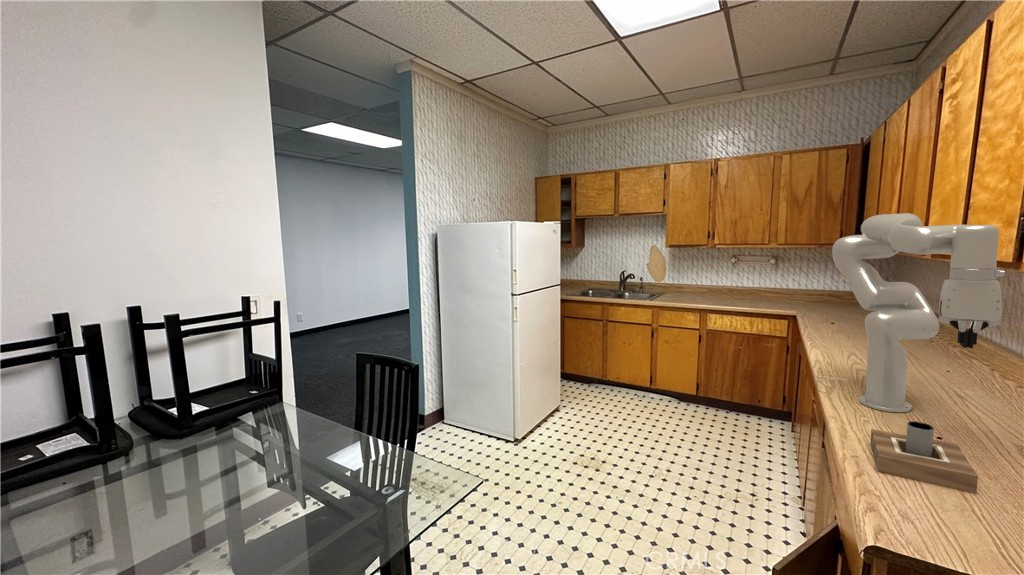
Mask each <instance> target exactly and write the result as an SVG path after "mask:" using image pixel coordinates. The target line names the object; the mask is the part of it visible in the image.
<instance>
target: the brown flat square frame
mask: <svg viewBox="0 0 1024 575" xmlns="http://www.w3.org/2000/svg"><path fill="white" fill-rule="evenodd" d="M906 436H907V434H903V433H897V432H891V431H885V430H879V429H874V428H871V429H870V446H871V450H872V454H873V458H874V462H875V466H876V470H877V472H879V473H884V474H888V475H891V476H897V477H902V478H905V479H910V480H915V481H918V482H922V483H929V484H933V485H937V486H941V487H946V488H950V489H955V490H960V491H964V492H969V493H974V494H977V490H978V480H979V478H978V474H977V472H976V471H975V469H974V468H973V467H972V464H971V463H970V461H969V460H968V459H967V457H966V455H965V453H964V452H963V450H962V449H961V447H960V446H959V444H957V443H955V442H954V443H953V442H949V441H948V442H947V441H942V440H936V439H933V448H932V458H929V457H924V456H919V455H914V454H909V453H905V451H906Z"/></svg>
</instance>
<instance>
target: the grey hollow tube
mask: <svg viewBox="0 0 1024 575" xmlns="http://www.w3.org/2000/svg"><path fill="white" fill-rule="evenodd" d="M934 430H935V428H934V427H933V425H930V424H928V423H925V422H920V421H915V420H913V421H912V420H911V421H908V422H907V423H906V435H907V436H906V451H905V453H909V454H914V455H919V456H924V457H929V458H932V448H933V440H934V432H935V431H934Z"/></svg>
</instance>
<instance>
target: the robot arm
mask: <svg viewBox="0 0 1024 575" xmlns="http://www.w3.org/2000/svg"><path fill="white" fill-rule="evenodd" d="M860 232H861V234H855V235H854V234H853V235H847V236H843V237H840V238H838V239H837V240H835V242H834V243H833V245H832V249H831V250H832V251H831V253H832V260H833V263H834V264H835V266H836V268H837V269H838V270H839V272H840V273H841V274H842V276H843V277H844V278H845V279H846V280H847V283H848V285H849V287H850V289H851V290H852V293H853V295H854V296H855V299H856V300H857V302H858V303H859V305H860V307H862V309H863V310H865V311H866V310H867V311H871V312H870V313H868V314H867V315H866V316H865V318H864V329H865V335H866V339H867V340H866V341H867V342H866V343H867V346H866V348H867V354H866V355H867V356H866V374H865V376H866V377H865V393H864V394H862V395H860V396H859V397H858V401H859V402H860V403H861V404H862V405H863V406H866V407H869V408H871V409H875V410H878V411H883V412H889V413H907V412H911V411H912V408H913V406H912V404H910V402H908V401H906V390H907V389H906V388H907V375H908V372H907V371H908V357H909V356H908V351H907V350H906V349H905V347H904V346H903V345H902V344H901V342H900V341H901V340H927V339H931V338H933V337H935V336H936V335H938V333H939V330H940V323H941V324H945V325H950V326H953V327H954V328H955V329H956V330H957V339H956V340H957V344H960V345H959V346H960V347H962V348H965V349H966V348H969V349H974V345H977V343H978V342H977V339H978V334H979V333H980V332H981V331H983V330H984V329H986V328H988V327H997V326H998V327H999V326H1002V320H1001V318H1002V314H1003V303H1002V302H1003V300H1002V299H1003V298H1002V289H1001V285H1000V281H999V280H997V278H998V277H1004V276H1005V275H1006V271H1005V270H1000V269H998V268H997V261H998V260H997V259H998V248H999V237H1000V230H999V228H998V226H997V225H993V224H973V225H970V224H944V225H943V224H942V225H928V226H925V225H924V226H923V223H922V220H921V219H920V217H919V216H917V215H916V214H913V213H910V212H904V213H888V214H884V213H883V214H877V215H873V216H870V217H868V218H866V219H865V220H864V221H863V222H862V224H861V225H860ZM899 252H902V253H906V254H910V255H922V256H923V255H941V254H948V255H949V254H950V267H949V279H944V281H943V283H942V287H941V290H940V296H939V302H938V314H939V315H938V317H937V316H936V314H935V312H934V310H933V309H932V307H931V306H930V304H929V302H928V300H927V299H926V298H925V296H924V295H923V293H922V292H921V290H920V289H919V287H917V286H916V285H914V284H913V283H910V282H906V281H885V280H884V279H883V278H882V277H881V275H880V274H879V272H878V271H877V269H875V268H874V267H873V266H872V265H871V264H869V263H867V262H866V261H864V260H870V259H871V260H872V259H873V260H874V259H888V258H891V257H893V256H895V255H897V254H898V253H899ZM966 321H971V322H970V326H969V328H968V329H967V327H966ZM910 410H911V411H910Z"/></svg>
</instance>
